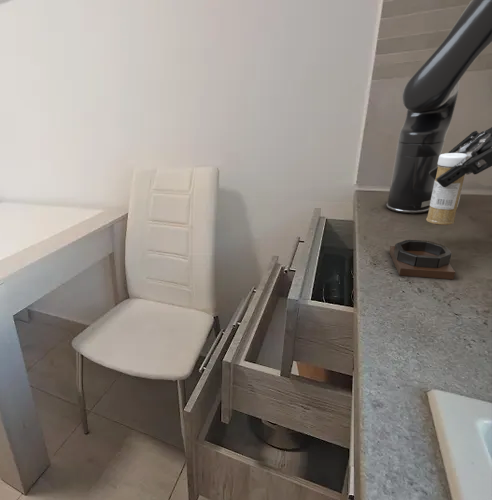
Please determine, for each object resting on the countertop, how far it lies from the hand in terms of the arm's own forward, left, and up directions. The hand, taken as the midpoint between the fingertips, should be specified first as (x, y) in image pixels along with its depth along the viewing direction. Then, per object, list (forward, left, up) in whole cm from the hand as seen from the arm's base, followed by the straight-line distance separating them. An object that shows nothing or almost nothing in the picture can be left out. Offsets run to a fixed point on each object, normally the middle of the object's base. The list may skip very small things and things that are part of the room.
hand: (436, 179), depth 72 cm
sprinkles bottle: (0, +2, -9) cm, 9 cm away
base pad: (+10, -3, -14) cm, 17 cm away
